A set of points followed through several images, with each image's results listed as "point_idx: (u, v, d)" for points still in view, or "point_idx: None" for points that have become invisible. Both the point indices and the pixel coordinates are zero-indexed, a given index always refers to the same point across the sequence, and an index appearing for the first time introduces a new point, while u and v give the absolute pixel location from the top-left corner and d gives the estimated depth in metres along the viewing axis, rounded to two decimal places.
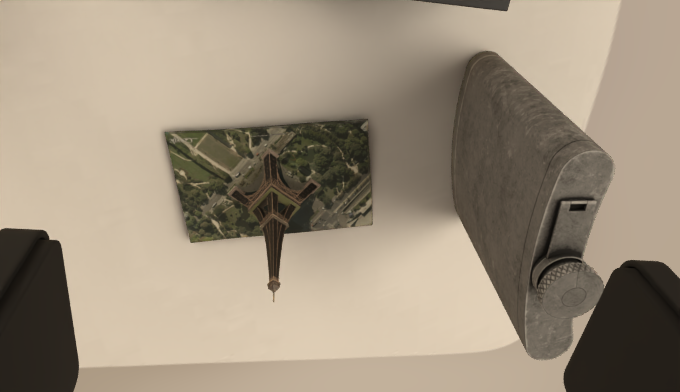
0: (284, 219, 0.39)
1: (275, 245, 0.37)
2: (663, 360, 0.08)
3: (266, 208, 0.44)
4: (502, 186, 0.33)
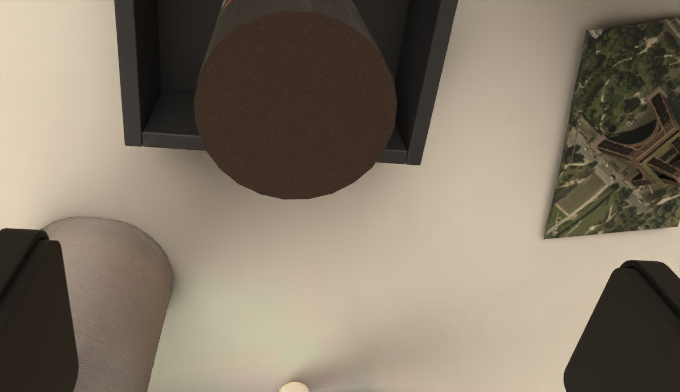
0: None
1: None
2: (663, 360, 0.08)
3: None
4: None
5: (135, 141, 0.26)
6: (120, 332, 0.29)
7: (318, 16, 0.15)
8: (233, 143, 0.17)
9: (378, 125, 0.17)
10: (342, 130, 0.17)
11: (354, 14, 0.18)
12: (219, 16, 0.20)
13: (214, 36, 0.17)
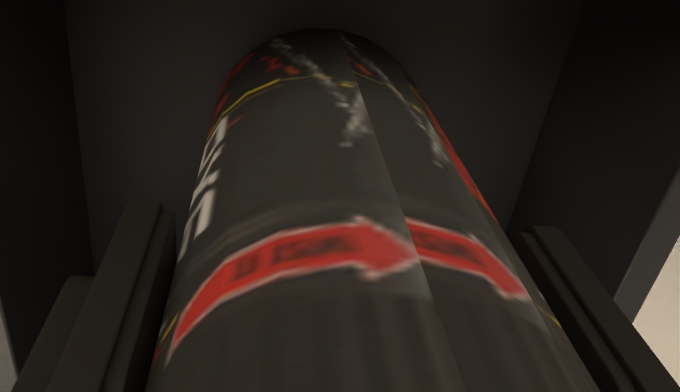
0: None
1: None
2: None
3: None
4: None
5: None
6: None
7: None
8: None
9: None
10: None
11: None
12: (161, 342, 0.07)
13: None
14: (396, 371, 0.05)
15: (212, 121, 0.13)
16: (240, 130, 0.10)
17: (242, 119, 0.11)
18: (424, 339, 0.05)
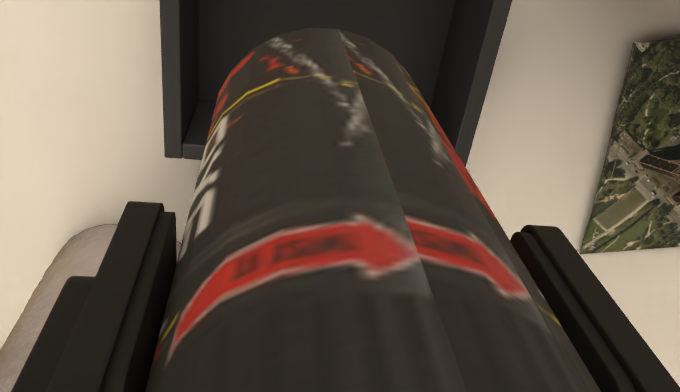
0: None
1: None
2: None
3: None
4: None
5: (175, 152, 0.26)
6: None
7: None
8: None
9: None
10: None
11: None
12: (162, 341, 0.07)
13: None
14: (396, 369, 0.05)
15: (212, 120, 0.13)
16: (241, 129, 0.10)
17: (242, 119, 0.11)
18: (424, 337, 0.05)
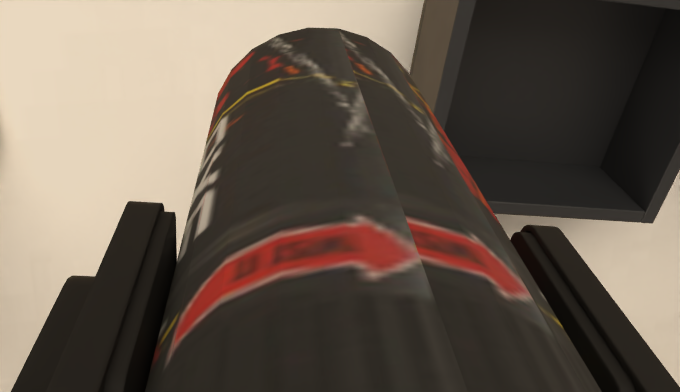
0: None
1: None
2: None
3: None
4: None
5: None
6: None
7: None
8: None
9: None
10: None
11: None
12: (161, 342, 0.07)
13: None
14: (398, 372, 0.05)
15: (212, 121, 0.13)
16: (241, 130, 0.10)
17: (242, 119, 0.11)
18: (426, 339, 0.05)
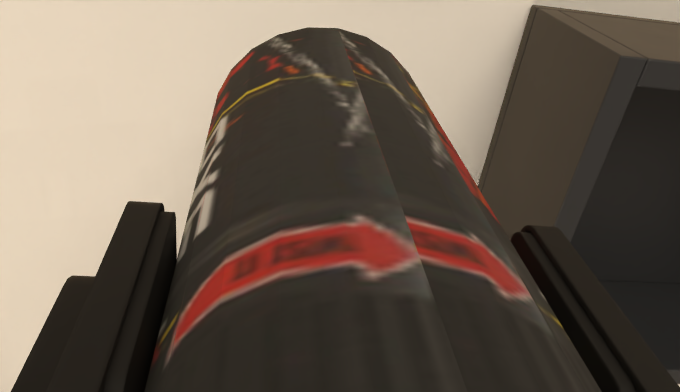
0: None
1: None
2: None
3: None
4: None
5: None
6: None
7: None
8: None
9: None
10: None
11: None
12: (161, 342, 0.07)
13: None
14: (397, 371, 0.05)
15: (212, 121, 0.13)
16: (241, 130, 0.10)
17: (242, 119, 0.11)
18: (425, 339, 0.05)
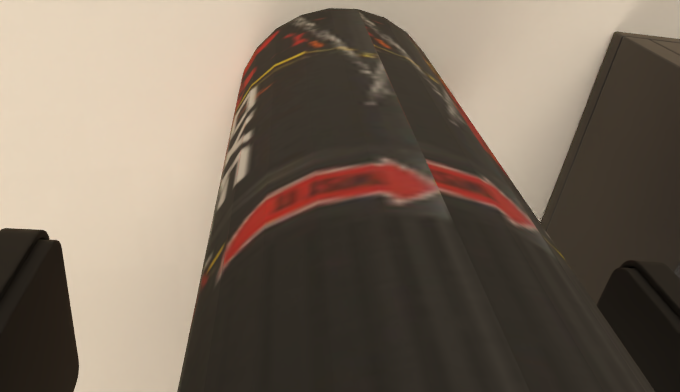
0: None
1: None
2: (663, 360, 0.08)
3: None
4: None
5: None
6: None
7: None
8: None
9: None
10: None
11: None
12: (209, 270, 0.08)
13: None
14: (422, 269, 0.06)
15: (240, 94, 0.14)
16: (272, 95, 0.11)
17: (272, 86, 0.11)
18: (445, 247, 0.06)
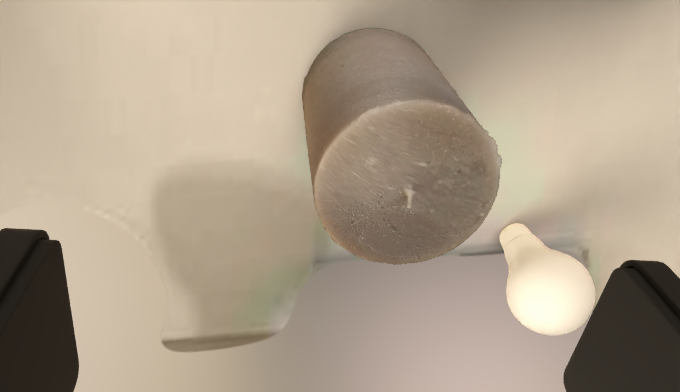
0: None
1: None
2: (663, 360, 0.08)
3: None
4: None
5: None
6: None
7: None
8: None
9: None
10: None
11: None
12: None
13: None
14: None
15: None
16: None
17: None
18: None
